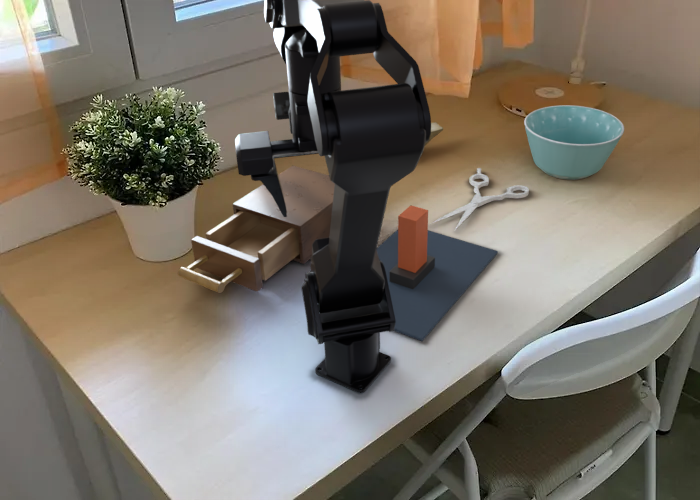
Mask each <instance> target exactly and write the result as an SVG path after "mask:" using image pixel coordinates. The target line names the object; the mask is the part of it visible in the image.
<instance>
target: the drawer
mask: <svg viewBox="0 0 700 500" xmlns="http://www.w3.org/2000/svg"><path fill="white" fill-rule="evenodd" d="M190 243H191V247H192V253H193V258H194V262H192V263H191V264H189V265H188V266H181V267H179V268H178V270H177V276H178V277H179V278H181V279H184V280H186V281H188V282H192V283H193V284H197V285H198V286H201V287H203V288H206V289H208V290H210V291H213V292H216V293H218V294H222V293H223V292H224V291H225V288H226V286H227V285H228V284H230V283H231V282H232V283H234V284H236V285H239V286H242V287H243V288H244V287H245V288H246V289H249V290H252V291H254V292H256V293H259V292H260V291H262V290H263V288H264V283H263V281H265V282H266V281H268V279H270V278H271V277H272V276H274V274H276V273H277V272H279V271H280V270H281V269H283V268H284V267H285V266H286V265H287V264H289V263H290V262H291V261H293V260H292V259H294V258H295V257H296V256H297V255H299V254H300V250H299V239H298V229H297V228H294V227H291V226H288V225H285V224H282V223H279V222H276V221H273V220H269V219H266V218H263V217H260V216H257V215H254V214H251V213H248V212H245V211H242V210H240V211H239V212H237V213H236V214H234V213H233V215H231V216H229V217H228V218H227V219H225V220H224V221H222V222H221V223H219V224H218V225H216V226H214V227H213V228H211V229H210V230H208V231H207V232H206V233H205V238H204V237H202V236H199V235H196V236H194V237H193V238H191V239H190ZM196 269H199V270H201V271H203V272H206V273H209V274H212V275H214V276H216V277H218V278H221V279H222V280H218V279H216V278H214V277H211V276H209V275H206V274H203V273H201V272H199V271H196Z"/></svg>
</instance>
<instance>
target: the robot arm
mask: <svg viewBox="0 0 700 500" xmlns="http://www.w3.org/2000/svg"><path fill="white" fill-rule="evenodd" d="M263 1H264V2H263V3H264V4H263V5H264V6H263V15H264V20H265V24H269V26H270V28H271V29H272V30H273V33H272V34H273V40H274V44H275V47H276V49H277V50H278V53H279V54H280V56H281V58H282V60H283V62H284V64H285V65H286V73H287V74H286V75H287V84H288V91H279V92H272V97H273V108H274V116H275V119H276V120H277V121H281V120H288V122H289V132H290V134H292V138H290V139H289V138H288V139H280V140H271V138H270V132H269V130H264V131H254V132H243V133H238V135H236V137H235V139H234V144H235V145H234V147H235V155H236V157H235V158H236V164H237V173H238V175H240V176H243V177H247V176H250V178H251V180H252V181H253V182H261V183H262V185H263V184H264V186H265V187H266V188H267V190H268V191H269V192H270V194H271V195H272V197H273V198H274V200H275V202H276V204H277V206H278V207H279V209H280V211H281V213H282V215H283V217H287V210H286V204H285V200H284V196H283V192H282V188H281V184H280V180H279V176H278V174H279V172H278V168H277V164H276V160H275V159H283V158H290V157H302V156H309V155H319V156H320V157H324V159H325V164H326V167H327V171H328V175H329V176H330V180H331V181H332V182H333V183H334V184H335V187H334V197H333V206H332V216H331V226H330V236H329V237H328V238H322V239H316V240H315V241H314V242H313V244H312V256H311V259H310V265H309V266H310V267H309V271H307V272H305V275H304V276H305V278H304V279H303V284H302V286H301V293H302V294H301V295H302V300H303V305H304V312H305V319H306V329H307V334H308V335H309V336H311V337H313V338H315V340H316V342H317V344H318V345H323V346H324V358H323V360H322V361H321V362H320V363H319V364H318V365H317V366H316V367H315V369H314V373H315V374H316V375H317V376H320V377H322V378H324V379H326V380H328V381H331V382H333V383H335V384H337V385H340V386H342V387H344V388H346V389H349V390H351V391H353V392H355V393H357V394H364V393H366V391H367V390H368V389H369V388H370V387H371V385H372V384H373V383H374V382H375V381H376V380H377V378H378V377H379V376H380V375H381V374H382V373H383V372H384V370H385V369H386V368H387V367H388V366H389V365H390V364H391V362H392V356H390V355H389V354H386V353H385V352H381V351H380V350H381V333H385V332H389V333H390V332H395V331H394V329H395V323H396V320H395V315H394V310H393V305H392V300H391V295H390V290H389V285H388V280H387V276H386V271H385V267H384V264H383V262H382V261H379V257H378V254H377V250H376V249H377V248H378V246H379V245H378V244H379V239H380V235H381V232H382V228H383V227H382V226H383V222H384V218H385V212H386V208H387V204H388V200H389V199H388V198H389V195H390V190H391V187H392V186H394V185H396V184H398V182H399V181H401V180H403V179H404V178H405V177H407V176H408V175H410V174H412V173H413V172H414V171H415V169H416V168H417V166H418V164H419V162H420V159H421V158H422V155H423V153H424V150H425V147H426V146H425V143H426V142H428V141H429V139H430V135H431V123H432V117H431V111H430V106H429V101H428V98H427V94H426V91H425V86H424V82H423V79H422V75H421V70H420V66H419V64H418V62H417V61H416V59H415V58H414V57H412V55H410V53H409V52H408V51H407V50H406V49H405V48H404V47H403V46H402V45H401V44H400V43H399V42H398V41H397V39H396V38H395V37H394V36H393V35H391V33H390V32H389V31H388V26H387V22H386V18H385V13H384V10H383V8H382V5H381V4H380V2H374V3H373V2H372V1H371V0H263ZM366 54H373V58H374V59H375V61H376V63H377V64H379V66H380V67H381V68H382V69H383V70H384V71H385V72H386V73H387V75H389V76H390V77H391V79H392V80H393V81H394V82H395V84H386V85H377V86H370V87H360V88H351V89H343V90H342V76H341V75H342V73H341V57H348V56H358V55H366Z"/></svg>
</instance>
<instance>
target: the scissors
mask: <svg viewBox="0 0 700 500" xmlns="http://www.w3.org/2000/svg"><path fill="white" fill-rule="evenodd" d="M468 178H469V180H468V181H469V185H471V186H472V187H473V192H474V193H475V194H474V195H473V197H472V199H471V200H470V202H469V203H466V204H464V205H462V206H460V207H458V208H456V209H453V210H452V211H450V212H448V213H446V214H445V215H443V216H441V217H439V218H437V219H435V220H434V221H432V222H431V223H430V225H431V224H434V223H437V222H439V221H442V220H445V219H447V218H450V217H452V216H455V215H457V214H460V213H463V214H462V215H461V218H460V220H459V221H458V223H457V225H456V227H455V229H454V231H453V232H455V231H456V230H457V229H458V228H459V227H460V226H461V225H462V224H463V223H464V222H465V221H466V220H467V219H468V218H469V217H470V216H471V214H472V213H473V212H474V211H475V210H476V209H477V208H478V207H481V206H483V205H485V204H488V203H490V202H493V201H502V200H504V199H523V198H526V197H527V196H529V194H530V189H529V187H528V186H526V185H521V184H516V185H512V186H508V187H506V191H505V192H503V193H502V194H496V195H495V194H494V195H483V196H482V195H481V193H480V190H479V189H481V188H482V187H487V186H489V183H490V179H489V177H488V175H486V174H483V173H482V168H481V167H477V168H476V173H474V174H472V175H470V177H468ZM477 179H480V180H482V181H476V180H477ZM515 191H522V192H519V193H516V192H515Z"/></svg>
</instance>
